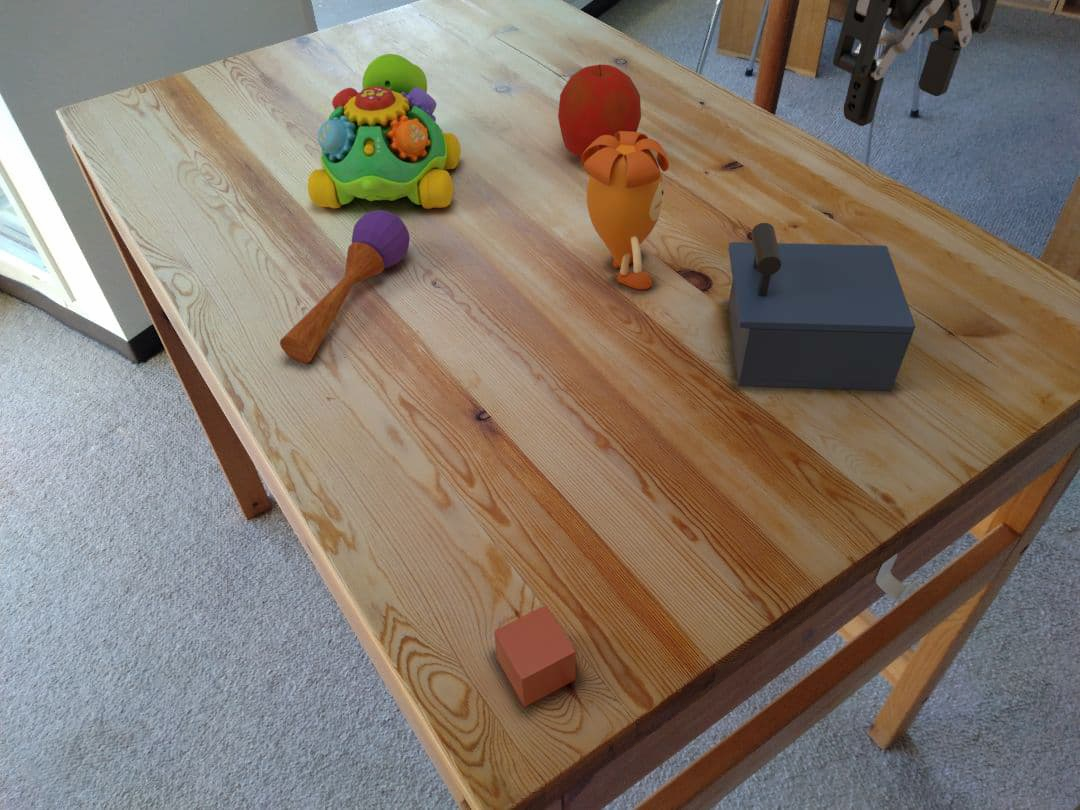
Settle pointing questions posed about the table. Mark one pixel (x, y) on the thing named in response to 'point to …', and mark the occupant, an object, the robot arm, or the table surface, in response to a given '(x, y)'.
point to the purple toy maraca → (350, 278)
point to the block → (535, 655)
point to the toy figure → (625, 197)
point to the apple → (597, 106)
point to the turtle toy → (385, 142)
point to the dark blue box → (816, 357)
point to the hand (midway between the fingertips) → (895, 106)
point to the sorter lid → (816, 286)
